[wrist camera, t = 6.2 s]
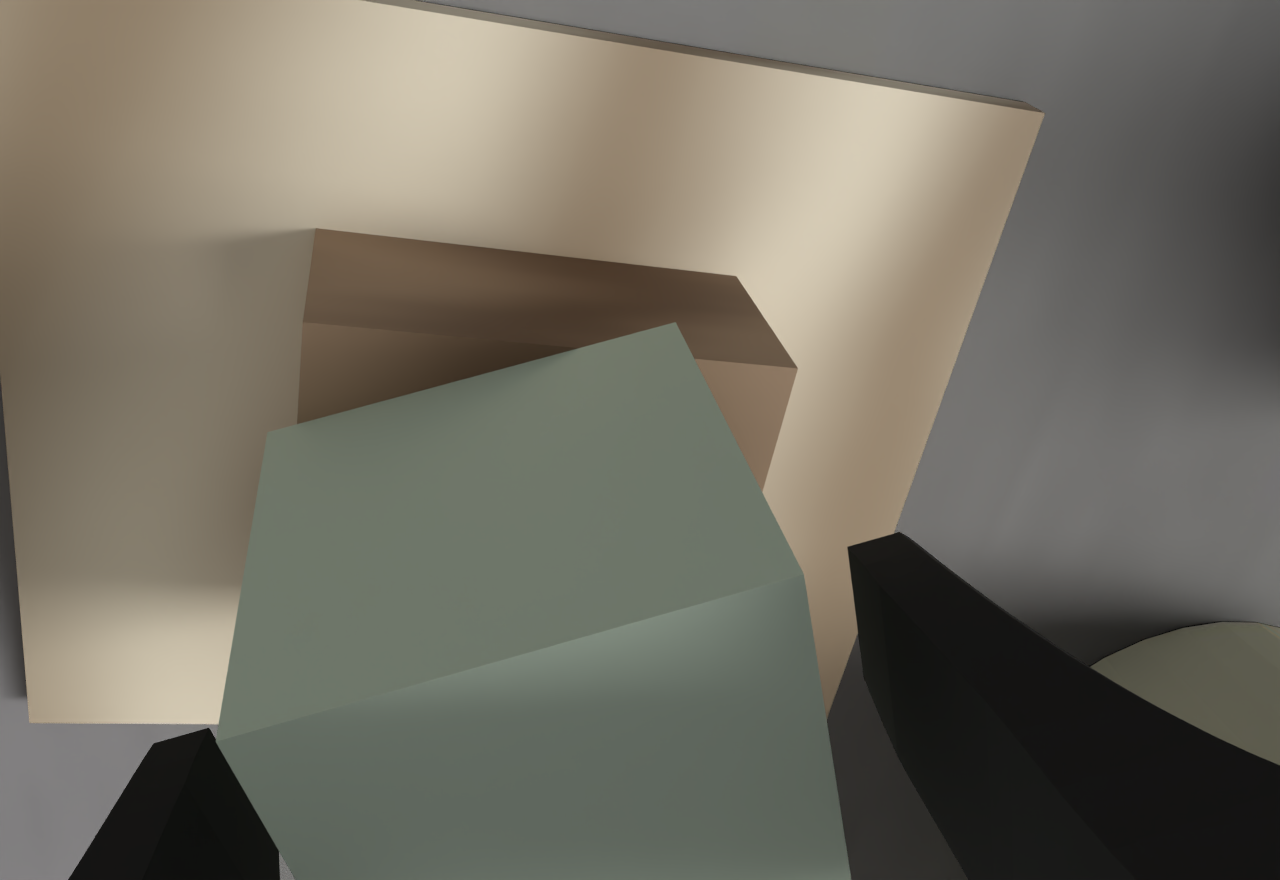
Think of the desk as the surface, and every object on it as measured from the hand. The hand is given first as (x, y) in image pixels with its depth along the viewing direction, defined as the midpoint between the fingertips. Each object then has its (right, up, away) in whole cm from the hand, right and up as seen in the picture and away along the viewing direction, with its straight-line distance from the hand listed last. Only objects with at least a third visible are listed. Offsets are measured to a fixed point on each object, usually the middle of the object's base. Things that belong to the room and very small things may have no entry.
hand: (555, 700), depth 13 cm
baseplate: (-1, +3, +5) cm, 6 cm away
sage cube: (0, +2, +2) cm, 3 cm away
